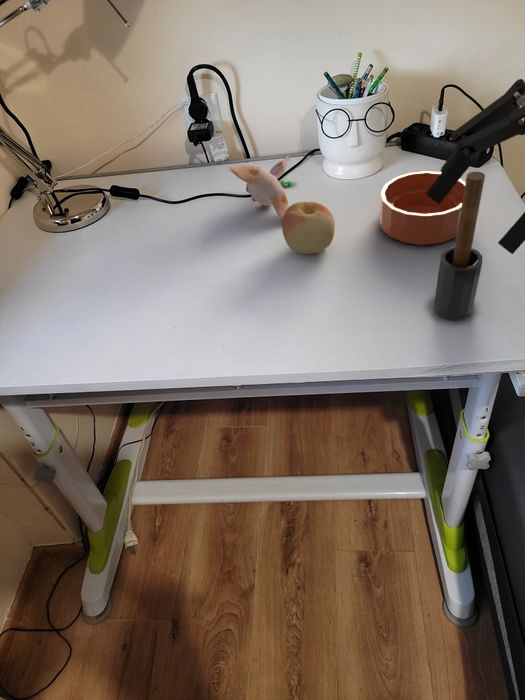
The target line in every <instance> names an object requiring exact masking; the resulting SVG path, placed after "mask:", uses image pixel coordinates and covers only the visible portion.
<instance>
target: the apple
mask: <svg viewBox="0 0 525 700" xmlns="http://www.w3.org/2000/svg"><path fill="white" fill-rule="evenodd" d="M288 207H289V208H288V209H287V210H286V212H285V214H284V216H283V220H282V219H281V231H282V235H283V238H284V241H285V243H286V245H287V246H288V248H289V249H290V250H291V251H293V252H294V253H297V254H305V255H309V254H311V255H312V254H316V253H319V252H322V251H324V250H326V249H327V248H328V247H329V246H330V245H331V244H332V242H333V240H334V236H335V230H336V226H335V225H336V224H335V218H334V215H333V214H332V212H331V210H330V209H329V208H328V207H327V206H325V205H323V204H322V203H319V202H316V201H300V202H299V201H297V202H295V203H293V204H291V205H289V206H288Z"/></svg>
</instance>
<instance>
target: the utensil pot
mask: <svg viewBox="0 0 525 700" xmlns="http://www.w3.org/2000/svg"><path fill="white" fill-rule="evenodd" d="M454 250H455V246H451V247H448V248H445V249H444V250H443V251H442V252H441V253H440V257H439V263H438V264H439V265H438V272H437V279H436V286H435V292H434V293H435V294H434V302H433V310H434V312H435V314H436V315H437V316H438V317H440V318H442V319H443V320H447V321H452V322H453V321H455V322H456V321H457V322H458V321H461V320H465V319H467V318H469V316H470V315H471V314H472V311H473V309H474V304H475V299H476V295H477V289H478V284H479V280H480V275H481V271H482V267H483V255H482V254H481V253H480V251H478V250H477V249H474V248H473V247H472V248H471V253H470V258H469V263H468V267H456V266H454V265H452V263H453V257H454Z"/></svg>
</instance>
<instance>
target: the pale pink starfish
mask: <svg viewBox="0 0 525 700" xmlns="http://www.w3.org/2000/svg"><path fill="white" fill-rule="evenodd" d="M291 159H292V158H291V156H290V155H289V154H288V155H286V156H285V157H284V158H283V159H282V160H280V161H278V162H277V163H276V164H274V165H273V167H271V168H270V171H267V170H265V169H264V168H262V167H260V166H255V165H250V164H249V165H248V164H244V165H242V164H241V165H235V166H232V167H228V170H229V171H230V172H231V173H232V174H233V175H235V177H236V178H238V179H239V180H241V181H243V182H245V183H246V185H245V191H246V192H247V193H248V194H249V195H250V196H251V200H252V201H253V202H256V203H258V204H259V205H261V206H262V207H263V208H265V207H270V206H272V208H273V209H274V211H275V213H276V215H277V216H278V218H280V219H281V221H282V220H283V216H284V214H285V212H286V210H287V209H288V208H289V207H290V206H289V201H288V197H287V193H286V190H285V189H284V188H283V186H285V185H288V186H293V181H292V180H289V181H285V180H280V182H279V180H278V179H279V178H280V177H281V176H282V175H283V174H284V173H285V171H286V170H287V168H288V164H289V162H290V161H291Z"/></svg>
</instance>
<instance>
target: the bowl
mask: <svg viewBox="0 0 525 700" xmlns="http://www.w3.org/2000/svg"><path fill="white" fill-rule="evenodd" d="M441 173H442V172H441V171H427V170H426V171H425V170H424V171H415V172H407V173H405V174H402V175H399V176H396V177H394V178H393V179H391V180H389V181H388V182H386V183H385V184H384V185H383V187H382V189H381V191H380V194H379V224H380V228H381V230H382V231H383V232H384V233H385V234H386V235H388V236H389V237H390V238H392V239H394V240H396V241H400V242H402V243H405V244H411V245H412V244H413V245H420V246H421V245H422V246H423V245H434V244H441V243H443V242H447V241H450V240H452V239H455V238H457V232H458V226H459V219H460V213H461V207H462V201H463V195H464V189H465V182H466V181H464V180H463V179H461V178H460V179H459V180H458V182H457V183H456V184H455V185H454V187H453V188H452V189H451V190H450V192H449V193H448V194H447V195H446V197H445V198H444V199H443V201H442V202H441V203H440V204H438V203H436V202H435V201H434V200H432V199H431V198H430V197H428V196H427V195H426V192H427V191H428V190H429V188H430V187H431V186H432V184H433V183H434V182H435V181H436V179H437V178H438V177H439V175H440V174H441Z"/></svg>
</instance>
